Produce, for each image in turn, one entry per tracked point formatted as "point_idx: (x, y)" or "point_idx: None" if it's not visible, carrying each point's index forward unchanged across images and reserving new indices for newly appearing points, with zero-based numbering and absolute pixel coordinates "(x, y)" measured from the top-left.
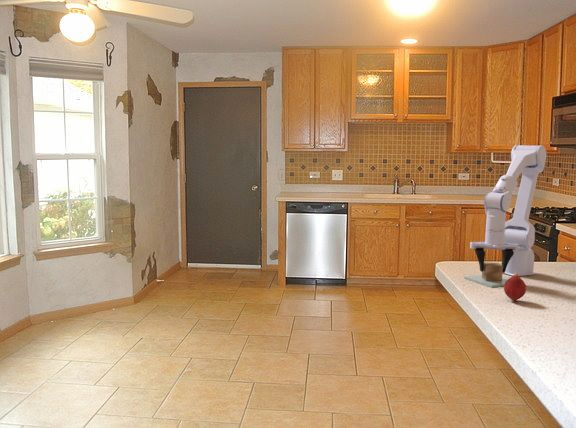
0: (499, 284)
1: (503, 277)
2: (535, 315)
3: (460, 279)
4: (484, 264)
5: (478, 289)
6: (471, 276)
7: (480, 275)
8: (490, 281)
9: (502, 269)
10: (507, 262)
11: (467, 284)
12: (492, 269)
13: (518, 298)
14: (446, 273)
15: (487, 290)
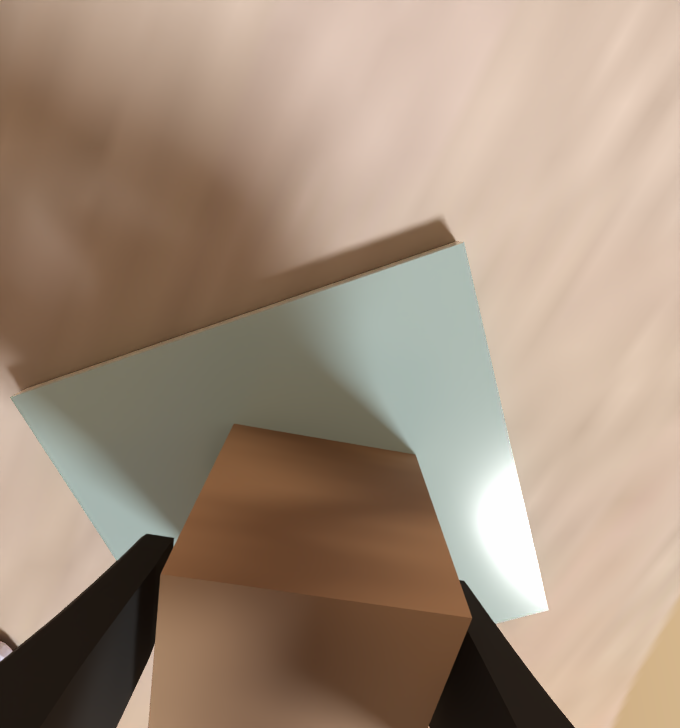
0: (323, 295)
1: None
2: None
3: (600, 560)
4: (425, 712)
5: (675, 150)
6: None
7: None
8: (370, 431)
9: (188, 526)
10: (5, 674)
11: (655, 383)
12: (356, 547)
13: None
14: (599, 724)
15: (585, 92)
